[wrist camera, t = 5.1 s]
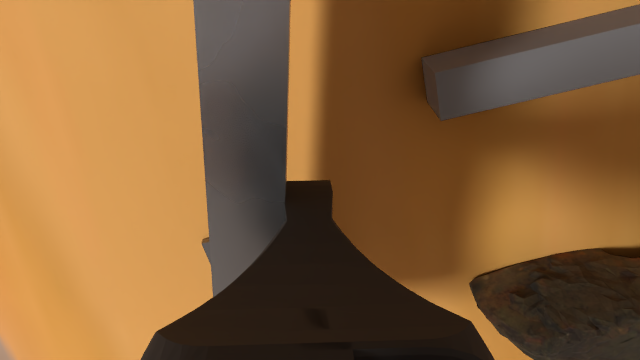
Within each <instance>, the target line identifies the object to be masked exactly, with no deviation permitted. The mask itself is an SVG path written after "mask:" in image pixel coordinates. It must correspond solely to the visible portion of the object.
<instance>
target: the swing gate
mask: <svg viewBox="0 0 640 360" xmlns="http://www.w3.org/2000/svg"><path fill="white" fill-rule="evenodd" d="M193 1H194V16H195V31H196V46H197V61H198V76H199V91H200V106H201V121H202V136H203V151H204V166H205V181H206V196H207V211H208V226H209V241H210V256H211V271H212V286H213V297H214V296H216V295H217V294H218V293H220V292H221V291H222V290H224V289H225V288H226V287H227V286H229V285H230V284H231V283H232V282H233V281H234V280H235V279H236V278H237V277H239V276H240V275H241V274H242V273H243V272H244V271H245V270H246V269H247V268H248V267H249V266H250V265H251V264H252V263H253V262H254V261H255V259H256V258H257V257H258V256H259V255H260V254H261V253H262V252H263V250H264V249H265V248H266V247H267V245H268V244H269V243H270V241H271V240H272V239H273V237H274V236H275V234H276V233H277V231H278V230H279V229H280V227H281V226H282V224H283V223H284V221H285V209H284V203H285V194H286V181H287V138H288V94H289V51H290V7H291V0H193Z"/></svg>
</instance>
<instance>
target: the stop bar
mask: <svg viewBox="0 0 640 360" xmlns="http://www.w3.org/2000/svg"><path fill="white" fill-rule="evenodd" d="M421 59H422V66H423V74H424V81H425V88H426V96H427V102H428V104H429V105H430V106H431V108H432V109H433V111H434V112H435V113H436V115H437V116H438V118H439V119H440V120H441V121H443V120H447V119H451V118H455V117H460V116H464V115H468V114H472V113H477V112H481V111H485V110H489V109H494V108H498V107H502V106H507V105H511V104H515V103H519V102H524V101H528V100H532V99H536V98H541V97H545V96H549V95H554V94H558V93H562V92H566V91H571V90H575V89H579V88H583V87H588V86H592V85H596V84H601V83H605V82H609V81H613V80H618V79H622V78H626V77H630V76H635V75H639V74H640V4H639V5H635V6H631V7H627V8H623V9H619V10H615V11H611V12H607V13H603V14H599V15H594V16H590V17H586V18H582V19H578V20H574V21H570V22H566V23H562V24H558V25H553V26H549V27H545V28H541V29H537V30H533V31H529V32H525V33H521V34H517V35H512V36H508V37H504V38H500V39H496V40H492V41H488V42H484V43H480V44H476V45H471V46H467V47H463V48H459V49H455V50H451V51H447V52H443V53H439V54H435V55H430V56H426V57H422V58H421Z"/></svg>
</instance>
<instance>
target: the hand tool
mask: <svg viewBox="0 0 640 360" xmlns="http://www.w3.org/2000/svg"><path fill="white" fill-rule="evenodd" d="M469 285H470V288H471V291H472V293H473V296H474V298H475V301H476V303H477V306H478V308H479V309H480V310H481V311H482V312H483V314H484V315H485V316H486V318H487V319H488V320H489V321H490V322H491V323H492V324H493V325H494V327H495V328H496V329H497V331H498V332H499V333H500V334H501V335H503V336H504V337H506V338H508V339H509V340H510V341H511V342H512V343H513V344H514V345H515V346H517V347H518V348H519V349H520V350H521V351H522V352H523V353H524V354H526V355H527V356H529V357H531V358H532V359H534V360H640V258H628V257H623V256H616V255H611V254H608V253H606V252H604V251H602V250H601V249H598V248H595V249H585V250H577V251H571V252H565V253H560V254H555V255H550V256H546V257H543V258H539V259H535V260H531V261H527V262H524V263H520V264H516V265H513V266H510V267H507V268H503V269H500V270H497V271H494V272H492V273H489V274H486V275H483V276H480V277H477V278H475V279H473V280H472V281H471V282H470V283H469Z"/></svg>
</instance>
